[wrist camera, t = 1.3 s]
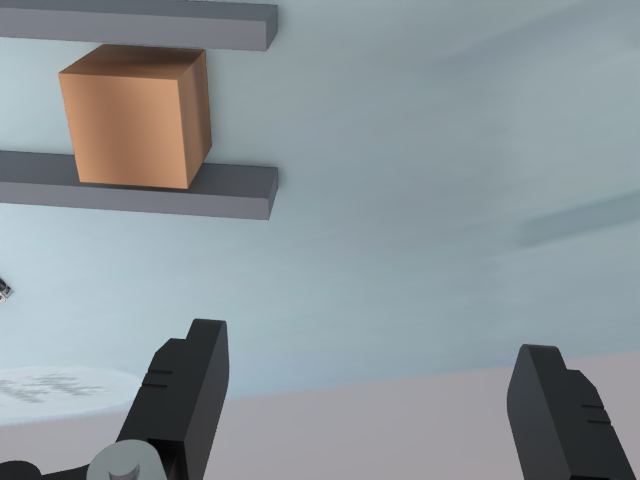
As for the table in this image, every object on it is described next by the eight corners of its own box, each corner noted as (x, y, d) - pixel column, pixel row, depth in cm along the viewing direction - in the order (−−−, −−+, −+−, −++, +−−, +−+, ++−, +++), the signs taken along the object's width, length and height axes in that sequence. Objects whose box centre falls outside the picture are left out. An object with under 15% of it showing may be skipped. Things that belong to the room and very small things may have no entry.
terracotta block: (205, 49, 28) (177, 80, 24) (211, 145, 31) (187, 188, 27) (103, 43, 28) (58, 73, 24) (118, 139, 31) (79, 181, 27)
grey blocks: (277, 5, 27) (266, 21, 24) (277, 188, 32) (268, 220, 29) (-62, -13, 27) (-114, 1, 25) (-9, 169, 32) (-47, 199, 30)
